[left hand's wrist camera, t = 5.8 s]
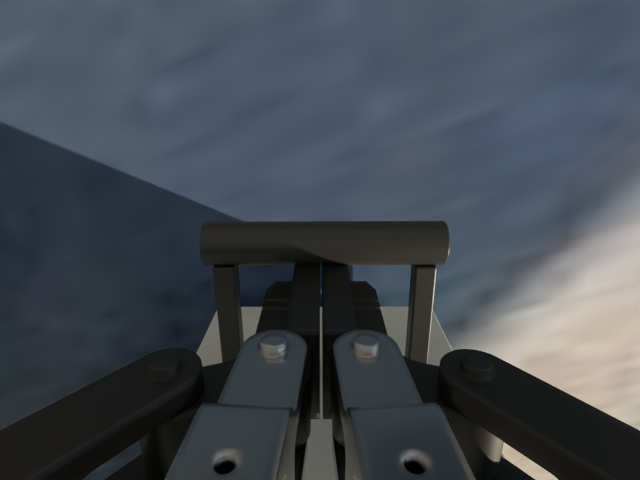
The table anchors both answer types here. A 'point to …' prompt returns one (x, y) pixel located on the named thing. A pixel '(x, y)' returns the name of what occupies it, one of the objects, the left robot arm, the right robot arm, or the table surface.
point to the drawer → (321, 249)
